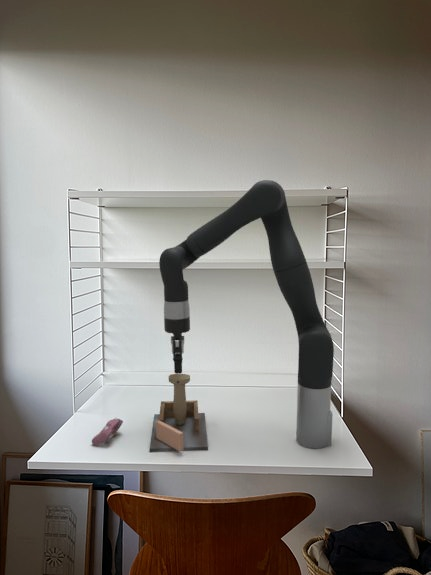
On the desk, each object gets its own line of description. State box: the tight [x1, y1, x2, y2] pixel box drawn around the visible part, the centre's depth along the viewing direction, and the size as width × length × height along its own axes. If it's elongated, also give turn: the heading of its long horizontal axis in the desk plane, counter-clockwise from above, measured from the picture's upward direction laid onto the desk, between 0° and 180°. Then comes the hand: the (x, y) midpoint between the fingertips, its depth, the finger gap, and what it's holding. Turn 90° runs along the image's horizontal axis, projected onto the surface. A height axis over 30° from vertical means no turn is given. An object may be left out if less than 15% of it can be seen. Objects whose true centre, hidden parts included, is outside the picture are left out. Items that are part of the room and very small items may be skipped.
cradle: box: [149, 400, 209, 453], centre depth 142 cm, size 16×22×6 cm
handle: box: [168, 373, 191, 425], centre depth 144 cm, size 5×6×15 cm
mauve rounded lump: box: [91, 417, 124, 446], centre depth 138 cm, size 10×5×7 cm, turn 165°
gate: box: [153, 419, 183, 452], centre depth 133 cm, size 12×2×5 cm, turn 44°
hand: (178, 368), depth 143 cm, fingers open, 8 cm apart
